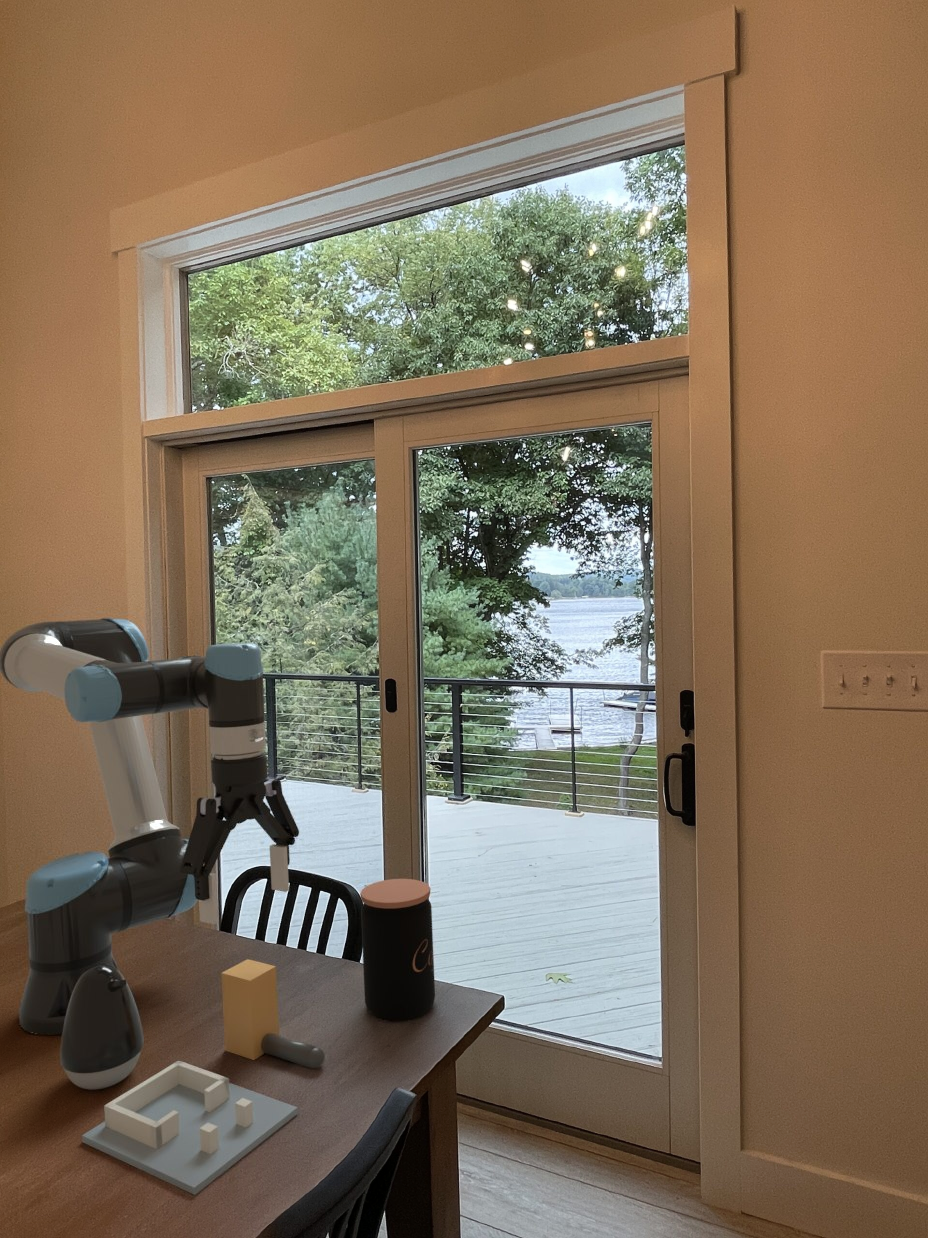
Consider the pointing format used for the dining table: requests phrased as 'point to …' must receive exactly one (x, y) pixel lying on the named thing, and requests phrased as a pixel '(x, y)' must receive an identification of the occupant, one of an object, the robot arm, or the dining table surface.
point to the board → (187, 1125)
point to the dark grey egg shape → (100, 1030)
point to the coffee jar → (397, 949)
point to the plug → (259, 1016)
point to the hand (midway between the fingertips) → (246, 905)
